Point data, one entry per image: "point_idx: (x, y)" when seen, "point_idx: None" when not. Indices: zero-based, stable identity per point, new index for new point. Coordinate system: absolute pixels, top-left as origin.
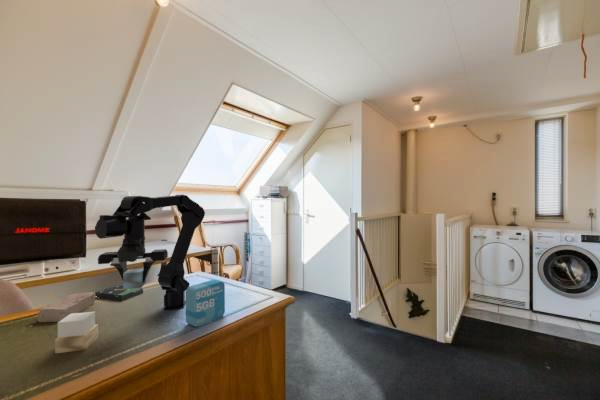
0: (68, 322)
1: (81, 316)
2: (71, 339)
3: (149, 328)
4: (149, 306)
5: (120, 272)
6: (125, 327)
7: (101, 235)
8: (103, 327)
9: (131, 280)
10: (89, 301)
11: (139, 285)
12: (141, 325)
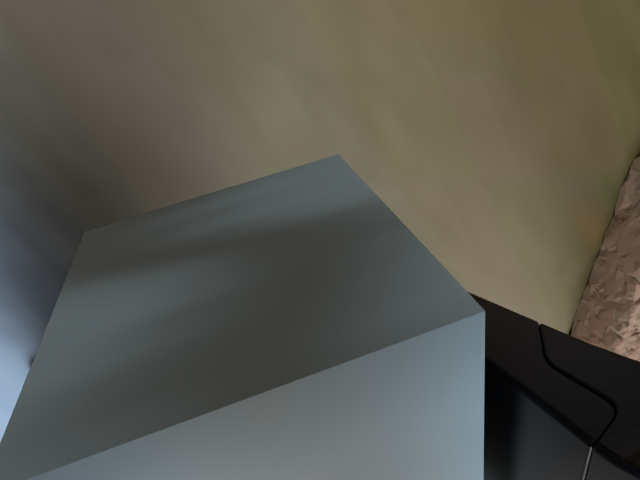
0: None
1: None
2: None
3: (24, 40)
4: None
5: (571, 353)
6: (241, 67)
7: None
8: (391, 71)
9: (241, 256)
10: (592, 330)
11: (104, 246)
12: (140, 99)
